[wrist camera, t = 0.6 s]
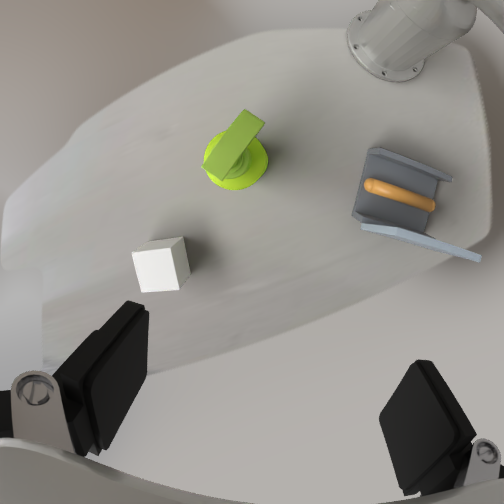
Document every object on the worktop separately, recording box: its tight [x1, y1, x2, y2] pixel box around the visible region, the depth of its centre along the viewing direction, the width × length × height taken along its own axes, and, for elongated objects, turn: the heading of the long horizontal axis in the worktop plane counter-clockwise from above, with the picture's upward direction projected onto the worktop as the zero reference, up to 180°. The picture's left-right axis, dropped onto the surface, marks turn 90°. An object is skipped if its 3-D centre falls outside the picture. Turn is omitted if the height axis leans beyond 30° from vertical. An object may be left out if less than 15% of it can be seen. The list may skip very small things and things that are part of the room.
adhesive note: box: [132, 237, 191, 292], centre depth 42 cm, size 6×6×6 cm
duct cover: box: [361, 223, 481, 262], centre depth 30 cm, size 11×12×1 cm
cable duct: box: [352, 148, 452, 239], centre depth 37 cm, size 10×12×5 cm
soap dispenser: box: [201, 109, 268, 190], centre depth 30 cm, size 6×7×20 cm
